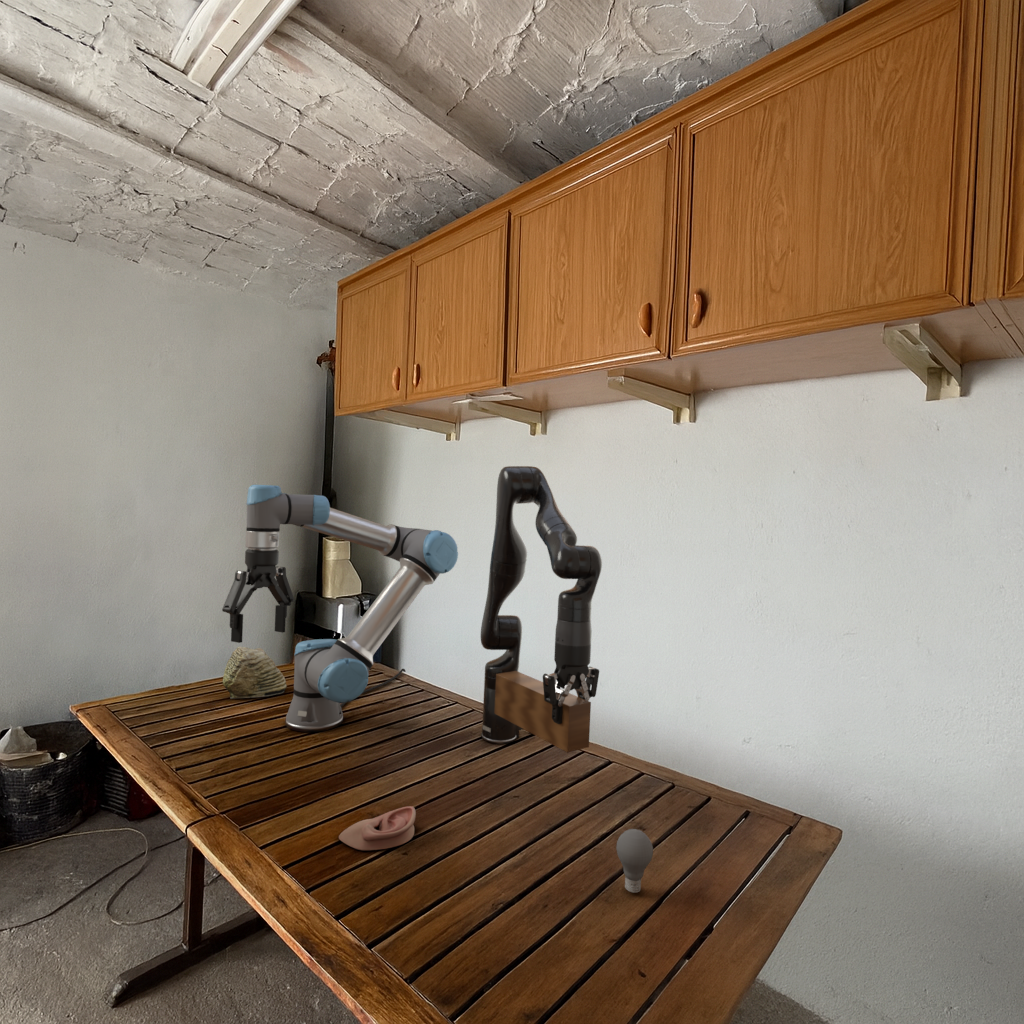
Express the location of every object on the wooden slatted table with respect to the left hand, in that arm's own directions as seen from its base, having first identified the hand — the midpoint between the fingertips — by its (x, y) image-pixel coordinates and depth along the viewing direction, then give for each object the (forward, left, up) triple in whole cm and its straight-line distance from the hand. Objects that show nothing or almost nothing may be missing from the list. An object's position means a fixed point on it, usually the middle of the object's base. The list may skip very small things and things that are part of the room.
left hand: (259, 636), depth 153 cm
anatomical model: (+3, +50, -29) cm, 58 cm away
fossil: (-24, -42, -29) cm, 56 cm away
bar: (-33, +61, -15) cm, 70 cm away
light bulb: (-14, +94, -29) cm, 100 cm away
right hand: (-30, +70, -10) cm, 77 cm away
